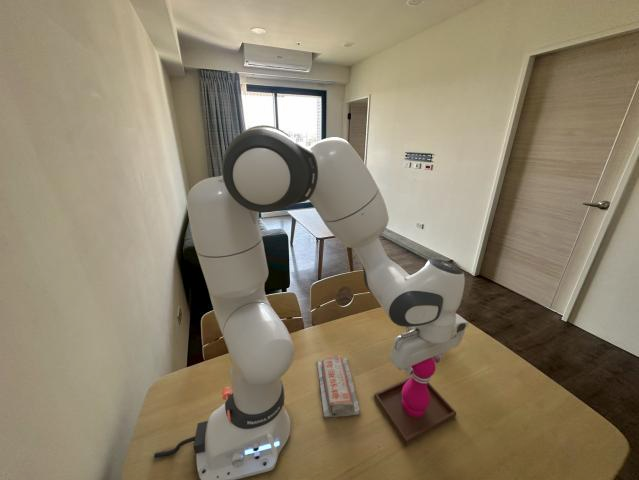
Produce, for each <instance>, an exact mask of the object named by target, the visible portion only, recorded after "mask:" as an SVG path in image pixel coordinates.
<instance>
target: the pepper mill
mask: <svg viewBox="0 0 639 480" xmlns="http://www.w3.org/2000/svg"><path fill="white" fill-rule="evenodd" d="M411 368H413V370H414V371H413V374H412V375H410V377H409V378H410V379H409V378H408V379H409V380H408V381H407V382H406V383H405V384H404V386H403V389H402V397H403V398H402V407H403V409H404V410H405V412H406V413H407V414H409V415H410V416H412V417H422V416H423V415H424V413H425V410H426V408H427V407H428V406H429V403H430V394H429V391H428V388H427V383H428V382H429V383H430V382H431V379H432V376H433V375H434V374H435V373H436V368H437V367H436V364H435V362H434V360H433V359H432V357H431V358H429V359H427V360H424V361H422V362H420V363H417V364H415V365H412V367H411Z"/></svg>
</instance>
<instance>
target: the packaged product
mask: <svg viewBox="0 0 639 480" xmlns="http://www.w3.org/2000/svg"><path fill="white" fill-rule="evenodd" d="M317 373H318V379H319V385H320V396H321V403H322V404H321V405H322V410H323V418H324V419H328V418H329V419H330V418H339V417H348V416H358V415H360V410H361V408H360V406H359V402H358V398H357V394H356V389H355V386H354V381H353V378H352V374H351V371H350V366H349V363H348V358H346V357H344V358H343V356H342V355H333V356H330V357H325V358H324V359H322V360H320V361H319V360H318V361H317Z"/></svg>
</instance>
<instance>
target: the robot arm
mask: <svg viewBox="0 0 639 480" xmlns="http://www.w3.org/2000/svg"><path fill="white" fill-rule="evenodd" d="M186 201H187V211H188V212H187V213H188V221H189V227H190V228H189V229H190V232H191V238H192V242H193V245H194V249H195V252H196V255H197V258H198V261H199V265H200V268H201V271H202V274H203V277H204V280H205V284H206V287H207V290H208V294H209V298H210V301H211V305H212V309H213V312H214V316H215V319H216V322H217V325H218V328H219V330H220V332H221V335H222V337H223V340H224V342H225V346H226V349H227V351H228V355H229V357H230V361H231V367H230V370H229V379H230V385H231V387H229V386H226V387H224V388H222V390H221V395H222V397H221V398H222V400H224V401H225V402H224V403H223V404H222V405H220V406H219V407H218V408H217V409H215V410H213V412H211V414H210V416H209V418H208V420H205V421H202V422H198V423H197V425H196V432H195V435H194V436H192V437H188V438H185V439H183V440H182V441H180V442H178V444H177V445H176V446H175V447H174V448H172V449H169V450H163V451H159V452H158V451H157V452H155V453H154V455H153V458H155V459H156V458H161V457H167V456H171V455H173V454H175V453H177V452H179V450H180V448H181V447H182V446H185V445H187V444H190V443H192V442H193V450H194V453H195V455H196V456H195V457H196V459H195V460H196V469H197V475H198V477H199V479H200V480H240V479H245V478H248V477H251V476H256V475H260V474H263V473H267V472H270V471H273V470H274V469H275V468H276V465H277V462H278V460H279V459H278V458H279V455H280V453H281V451H282V450H283V448H284V447H285V446H286V443H287V442H288V440H289V436H290V433H291V419H290V416H289V413H288V411H287V410H286V408H285V399H286V398H285V387H284V384H283V381H282V377H283V376H284V375H285V374H286V373H287V372H288V370H289V369H290V367H291V366H292V364H293V361H294V359H295V354H296V350H295V349H296V348H295V345H294V343H293V340H292V337H291V335H290V332H289V330H288V328H287V326H286V324H285V323H284V322H283V321H282V319H281V318H280V316H279V315H278V314H277V312H276V311H275V310H274V308H273V307H272V306H271V303H270V302H269V299H268V296H267V295H266V291H265V283H266V282H267V280H268V277H269V267H268V261H267V256H266V251H265V245H264V240H263V234H262V230H261V225H260V217H259V216H260V213H271V212H277V211H280V210H282V209H285V208H288V207H290V206H293V205H298V204H300V203H305V202H307V201H309V203H310V204H311V205H312V207H313V208H314V209H315V210H316V212H317V214H318V216H319V217H320V219H321V221H322V222H323V223H324V225H325V226H326V227H327V229H328V230H329V231H330V233H331V234H332V235H333V236H334V238H336V240H337V241H339V243H340V244H341V245H342V246H343V247H345V248H348V249H349V248H350V249H352V251H353V252H354V254H355V256H356V257H357V259H358V261H359V262H360V264H361V266H362V270H363V271H362V272H363V281H364V285H365V287H366V288H367V290H368V292H370V293H371V294H372V295H373V297H374V298H375V299H376V301H377V302H378V304H379V306H380V307H381V308H382V310H383V311H384V312H385V314H386V315H387V317H388V318H389V319H390V320H391V322H392V323H393V324H395V325H397V326H399V327H405V328H406V327H412V328H413V330H411V331H409V330H408V331H407V332H406V331H405V332H403V333H401V334H400V335H399V334H398V336H397V337H396V338H395V339H394V342H393V344H392V347H391V350H390V354H389V360H390V361H391V363H392V364H393V366H394V367H396V369H398V370H399V371H403V373H404V374H405V376H407V377H409V376H411V375H412V374H413V371H414V370H413V368H411V367H412V365H415V364H417V363H420V362H422V361H424V360H427V359H429V358H432V359H433V360H434V362H435V365H436V364H439V363H441V362H442V359H443V357H444V356H445V355H446V354H447V352H449V351H450V350H452V349H455V348H457V347H459V346H460V344H461V343H462V341H463V338H464V336H465V330H466V329H467V328H468V325H469V321H467V320H466V319H465V318H464V317H462V316H461V315H459V314H458V313H457V311H458V309H459V308H460V306H461V302H462V299H463V295H464V291H465V282H466V278H465V273H464V271H463V270H462V269H461V268H460V267H458V266H457V265H455V264H454V263H452V262H450V261H448V260H444V259H441V258H430V259H428V260H427V261H426V263H425V265H424V266H423V267H421V269H419V270H418V271H416V272H414V273H413V274H409V273H408V272H407V271H406V270H405V269H404V268H403V266H401V265H400V263H399V262H398V261H396V260H395V259H394V258H392V257H390V256H389V255H387V253H386V250H385V248H384V247H383V245H382V242H381V240H380V239H379V238H380V237H381V236H382V235H383V233H384V232H385V231H386V229H387V226H388V224H389V221H390V217H389V213H388V208H387V205H386V202H385V199H384V197H383V194H382V193H381V191H380V188H379V186H378V185H377V183H376V180H375V179H374V177H373V175H372V173H371V171H370V169H369V168H368V167H367V165H366V163H365V161H364V160H363V159H362V158H361V156H360V155H359V154H358V152H357V151H356V150H355V148H354V147H353V145H351V143H350V142H348V141H347V140H346V139H344V138H341V137H327V138H323V139H321V140H319V141H318V140H317V142H315V143H313V144H312V145H309V146H302V145H301V144H299V143H297V142H296V141H294V140H293V139H292V137H291V136H290V135H289V134H288V133H286V132H285V131H284V130H283V129H280V128H278V127H275V126H272V125H263V124H262V125H261V124H260V125H254V126H252V127H249V128H247V129H245V130H244V131H242V132H241V133H240V134H238V135H237V136H236V137H234V139H232V141H231V142H230V143H229V144H228V146H227V147H226V149H225V151H224V153H223V157H222V162H221V175H218V176H212V177H207V178H204V179H202V180H200V181H199V182H197V183H196V184H194V185H193V186H192V187H191V188H190V190H189V191H188V194H187V199H186ZM231 392H232V393H231ZM264 464H265V465H264Z"/></svg>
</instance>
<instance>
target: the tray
mask: <svg viewBox="0 0 639 480" xmlns="http://www.w3.org/2000/svg"><path fill="white" fill-rule="evenodd" d="M410 378H411V377H409V378H406V379H405V380H402V381H400V382H398V383H396V384H394V385H391V386H389V387H387V388H384V389H382V390H380V391H377V392H375V393H374V396H373V398H374V400H375V402H376V403H377V405H378V407H379V408H380V409H381V411H382V413H383V414H384V415H385V417H386V418H387V420H388V421H389V423H390V425H391V426H392V427H393V429H394V430H395V432H396V434H397V435H398V437H399V438H400V439H401V441H402V443H403V445H404V446H408V445H409V444H412V443H413V442H414V441H416V440H419V439H420V438H422V437H424V436H425V435H427V434H428V433H430V432H433V431H434V430H435V429H437V428H439V427H440V426H443V425H445V424H446V423H448V422H449V421H451V420H453V419H455V418H456V416H457V411H456V410H455V409H454V408H453V407H452V405H450V404H449V402H447V400H446V399H445V398H444V397H443V395H441V394H440V393H439V391H437V389H435V387H433V385H432V384H431V383H430V381H429V382H428V383H427V388H428V391H429V394H430V403H429V406H428V407H427V408H426V410H425V413H424V415H423V416H422V417H412V416H410V415H409V414H407V413H406V412H405V410H404V409H403V407H402V398H403V397H402V389H403V386H404V384H405V383H406V382H407V381H408V380H409V379H410Z"/></svg>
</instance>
